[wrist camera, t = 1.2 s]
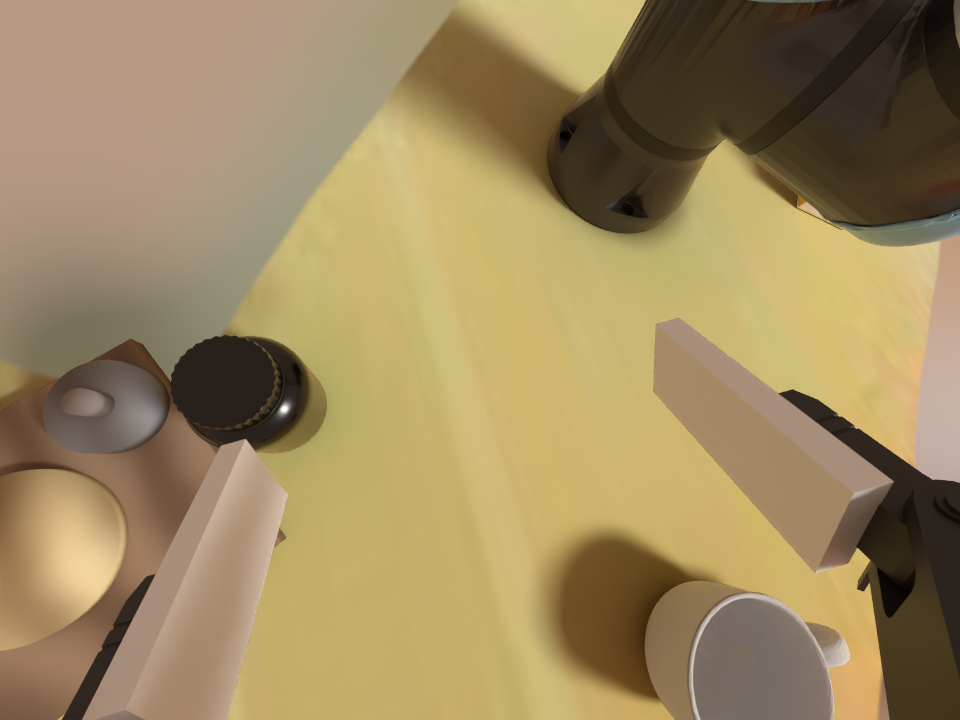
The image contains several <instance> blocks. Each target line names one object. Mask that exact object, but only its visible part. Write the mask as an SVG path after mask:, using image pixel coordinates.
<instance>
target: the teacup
mask: <svg viewBox="0 0 960 720" xmlns="http://www.w3.org/2000/svg"><path fill="white" fill-rule="evenodd" d="M849 657H850V653H849V649H848V647H847V644H846V642H845V640H844V638H843V637H842V636H841V635H840V634H839V633H838V632H837V631H835V630H833V629H831V628H829V627H827V626H823V625H820V624H815V623H809V622H804V621H803V620H802V619H801V618H800V617H799V616H798V615H797V614H796V613H795V612H794V611H793V610H792V609H790V608H789V607H788V606H787V605H785V604H784V603H782V602H781V601H779V600H777V599H775V598H773V597H770V596H768V595H765V594H762V593H756V592H749V591H746V590H742V589H739V588H736V587H732V586H729V585H724V584H720V583H716V582H710V581H691V582H685V583H682V584H679V585H677V586H676V587H674V588H672V589H670V590H669V591H668V592H666V593H665V594H664V595H663V596H662V597H661V598H660V600H659V601H658V602H657V604H656V606H655V607H654V609H653V611H652V613H651V615H650V618H649V621H648V624H647V629H646V635H645V658H646V664H647V668H648V673H649V676H650V679H651V682H652V684H653V687H654V689H655V691H656V693H657V695H658V697H659V698H660V700H661V702H662V703H663V705H664V706H665V708H666V709H667V710H668V712H669V713H670V714H671V715H672V716H673V718H674V719H675V720H833V719H834V698H833V691H832V685H831V678H830V674H829V671H828V667H838V666H841V665H844V664H846V663H847V662H848V660H849Z"/></svg>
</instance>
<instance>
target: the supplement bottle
mask: <svg viewBox="0 0 960 720" xmlns="http://www.w3.org/2000/svg"><path fill="white" fill-rule="evenodd" d="M174 369H175V370H174V372H173V373H172V374H171V377H172V380H171V382H170V386H171V392H170V394H171V395H172V397H173V403H174V404H175V405H177V409H178V411H179V412H181V413H183V416H184V417H185V419H186V421H187V423H188V425H189V426H190V428H191V429H192V430H193V431H194V433H195V434H196V435H197V436H199V437H200V438H201V439H202V440H204V441H205V442H207V443H209V444H210V445H213V446H215V447H218V448H220V447H221V446H222V445H225V444H229V443H233V442H236V441H240V440H243V439H246V440H247V441H248V443H249V444H250V445H251V447H252V448H253V449H254V451H255V452H257V453H281V452H286V451H290V450H293V449H296V448H298V447H300V446H302V445H303V444H305V443H306V442H308V441H309V440H310V439H311V438H312V437H313V436H314V435H315V434H316V433H317V432H318V430H319V429H320V427H321V425H322V423H323V421H324V418H325V415H326V409H327V401H326V395H325V392H324V389H323V387H322V385H321V383H320V382H319V381H318V379H317V378H316V377H315V375H314V374H313V373H312V372H311V371H310V370H309V368H308V367H307V366H306V365H305V364H304V363H303V361H302V360H301V359H300V358H299V357H298V356H297V355H296V354H295V353H294V352H293V351H292V350H290V349H289V348H288V347H286V346H285V345H283V344H281V343H279V342H277V341H274V340H272V339H268V338H264V337H256V336H244V337H238V336H232V337H230V336H227V335H224V336H222V337H217V336H215V337H213V338H212V339H206V340H204V341H203V342H202V343H198V344H196V345H195V346H194V347H193V348H191V349H189V350H187V352H186V353H185V355H183V356H182V357H180V360H179V362H178V363H177V364H176V365H175V368H174Z"/></svg>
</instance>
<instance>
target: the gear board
mask: <svg viewBox="0 0 960 720" xmlns="http://www.w3.org/2000/svg"><path fill="white" fill-rule="evenodd" d="M170 392H171V386H170V380H169V379H168V378H167V376H166V375H165V374H164V372H163V371H162V370H161V368H160V367H159V366H158V365H157V363H156V362H155V360H154V359H153V358H152V356H151V355H150V353H149V352H148V351H147V350H146V348H145V347H144V345H142V344H141V343H138V342H136V341H134V340H132V339H130V340H128V341H126V342H124V343H123V344H121V345H119V346H117V347H115V348H113V349H112V350H110V351H108V352H106V353H104V354H103V355H101V356H99V357H97V358H96V359H94V360H92V361H90V362H88V363H85V364H83V365H80V366H78V367H76V368H74V369H72V370H70V371H69V372H67V373H66V374H65V375H63V376H62V377H61V378H60V379H58V380H56V381H54V382H52V383H51V384H49V385H47V386H45V387H43V388H42V389H40V390H38V391H36V392H34V393H33V394H31V395H29V396H27V397H26V398H24V399H22V400H20V401H18V402H17V403H15V404H13V405H11V406H9V407H8V408H6V409H4V410H2V411H0V720H58V719H59V718H60V717H61V716H63V715H64V714H65V713H66V711H67V709H68V708H69V706H70V704H71V702H72V700H73V698H74V696H75V695H76V693H77V691H78V689H79V687H80V685H81V683H82V682H83V680H84V678H85V676H86V674H87V672H88V670H89V669H90V667H91V665H92V663H93V661H94V659H95V658H96V656H97V654H98V652H100V651H102V647H101V646H102V645H103V643H104V641H105V639H106V637H107V635H108V633H109V632H110V630H113V624H114V622H115V620H116V619H117V617H118V615H119V613H120V611H121V609H122V607H123V606H124V604H125V602H126V600H127V599H128V598H129V597H130V595H131V594H132V593H133V592H134V591H135V589H136V588H137V587H138V586H139V585H140V583H141V582H142V581H143V580H144V579H145V577H146V576H150V575H153V574H156V573H157V571H158V569H159V567H160V565H161V563H162V561H163V559H164V557H165V555H166V553H167V551H168V549H169V547H170V545H171V543H172V541H173V539H174V537H175V535H176V533H177V531H178V529H179V527H180V525H181V523H182V522H183V520H184V518H185V516H186V514H187V512H188V510H189V508H190V506H191V504H192V502H193V500H194V498H195V496H196V494H197V492H198V490H199V488H200V486H201V484H202V482H203V480H204V478H205V476H206V474H207V472H208V470H209V468H210V466H211V464H212V462H213V460H214V458H215V456H216V454H217V452H218V450H219V448H218V447H215V446H213V445H210V444H209V443H207V442H205V441H204V440H202V439H201V438H200V437H199V436H197V435H196V434H195V433H194V431H193V430H192V429H191V428H190V426H189V425H188V423H187V421H186V419H185V417H184V416H183V413H181V412H179V411H178V409H177V405H175V404H174V403H173V397H172V395H171V394H170ZM285 538H286V536H285V535H284V534H283V532H282V531H281V530H280V528H279V530H278V534H277V538H276V541H275V545H274V547H275V546H277V545H278V544H279V543H280V542H282V541H283V540H284V539H285Z"/></svg>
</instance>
